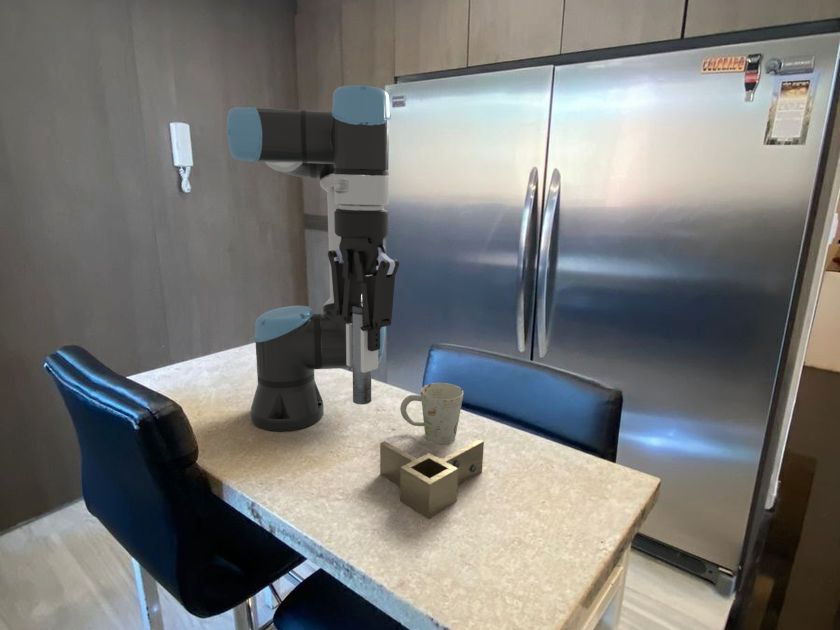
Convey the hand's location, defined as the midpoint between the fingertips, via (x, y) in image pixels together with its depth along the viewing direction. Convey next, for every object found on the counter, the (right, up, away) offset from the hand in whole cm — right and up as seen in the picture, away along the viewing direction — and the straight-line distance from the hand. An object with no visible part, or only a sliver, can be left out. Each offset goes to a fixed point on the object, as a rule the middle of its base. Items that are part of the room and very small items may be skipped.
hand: (362, 366), depth 78 cm
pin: (0, -5, +1) cm, 6 cm away
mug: (+11, -17, +26) cm, 33 cm away
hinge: (+11, -21, +11) cm, 26 cm away
